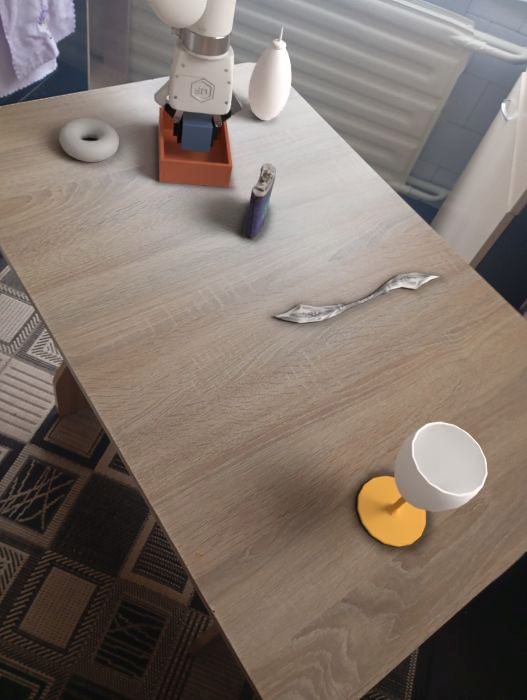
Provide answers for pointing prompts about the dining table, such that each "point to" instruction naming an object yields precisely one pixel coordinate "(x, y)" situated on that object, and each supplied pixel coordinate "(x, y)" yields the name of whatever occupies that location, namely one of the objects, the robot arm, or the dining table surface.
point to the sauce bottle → (270, 81)
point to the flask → (259, 202)
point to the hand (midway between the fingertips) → (194, 139)
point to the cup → (422, 483)
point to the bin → (193, 158)
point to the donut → (89, 149)
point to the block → (196, 131)
